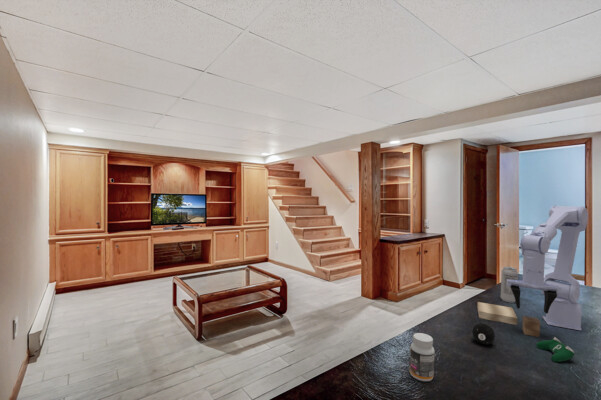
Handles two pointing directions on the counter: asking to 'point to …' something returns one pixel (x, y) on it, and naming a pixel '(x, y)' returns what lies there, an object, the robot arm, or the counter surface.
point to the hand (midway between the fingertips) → (531, 309)
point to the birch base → (496, 313)
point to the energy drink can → (506, 290)
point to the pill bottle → (422, 357)
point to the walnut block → (531, 326)
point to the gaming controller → (556, 349)
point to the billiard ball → (483, 333)
